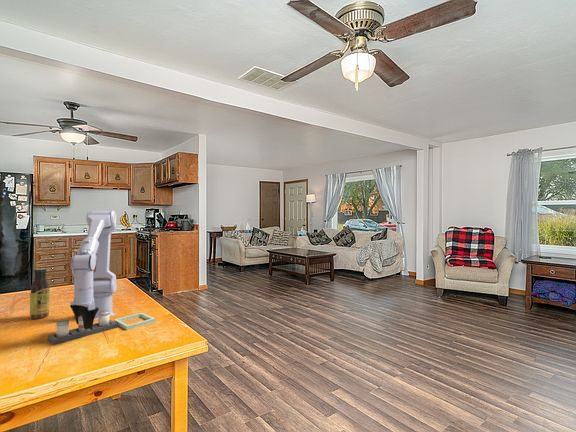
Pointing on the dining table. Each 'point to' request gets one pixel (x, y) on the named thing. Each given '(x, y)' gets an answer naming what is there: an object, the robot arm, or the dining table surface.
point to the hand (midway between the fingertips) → (84, 325)
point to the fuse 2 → (103, 318)
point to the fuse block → (81, 333)
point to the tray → (131, 326)
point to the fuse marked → (81, 325)
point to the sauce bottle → (39, 295)
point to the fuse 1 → (62, 328)
